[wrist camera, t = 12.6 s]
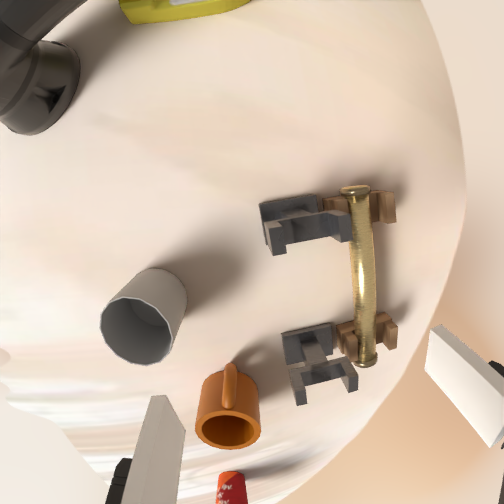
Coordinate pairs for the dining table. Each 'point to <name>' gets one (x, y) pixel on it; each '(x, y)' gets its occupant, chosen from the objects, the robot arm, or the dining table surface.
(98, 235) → the dining table surface
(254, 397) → the mug
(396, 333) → the rest
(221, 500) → the paper cup
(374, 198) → the rest
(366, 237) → the rail
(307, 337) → the post
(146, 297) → the cup
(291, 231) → the post
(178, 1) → the ashtray
